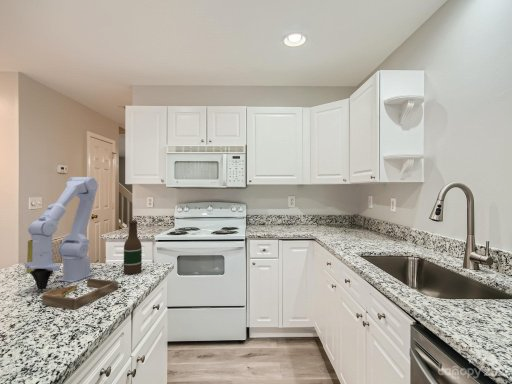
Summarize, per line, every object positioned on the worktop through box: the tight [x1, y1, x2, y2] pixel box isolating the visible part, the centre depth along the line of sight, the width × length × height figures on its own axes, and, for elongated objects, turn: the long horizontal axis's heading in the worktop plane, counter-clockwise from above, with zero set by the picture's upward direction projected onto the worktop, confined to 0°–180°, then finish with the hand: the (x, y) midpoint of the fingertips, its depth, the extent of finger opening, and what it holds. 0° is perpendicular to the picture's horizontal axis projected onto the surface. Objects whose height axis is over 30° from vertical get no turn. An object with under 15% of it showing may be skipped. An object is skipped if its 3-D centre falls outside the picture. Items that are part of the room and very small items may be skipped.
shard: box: [42, 284, 79, 297], centre depth 96 cm, size 11×8×2 cm
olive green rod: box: [25, 239, 35, 274], centre depth 122 cm, size 6×6×14 cm
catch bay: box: [41, 277, 119, 310], centre depth 93 cm, size 18×14×3 cm
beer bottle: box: [123, 219, 143, 276], centre depth 121 cm, size 8×8×24 cm
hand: (42, 288), depth 98 cm, fingers closed
